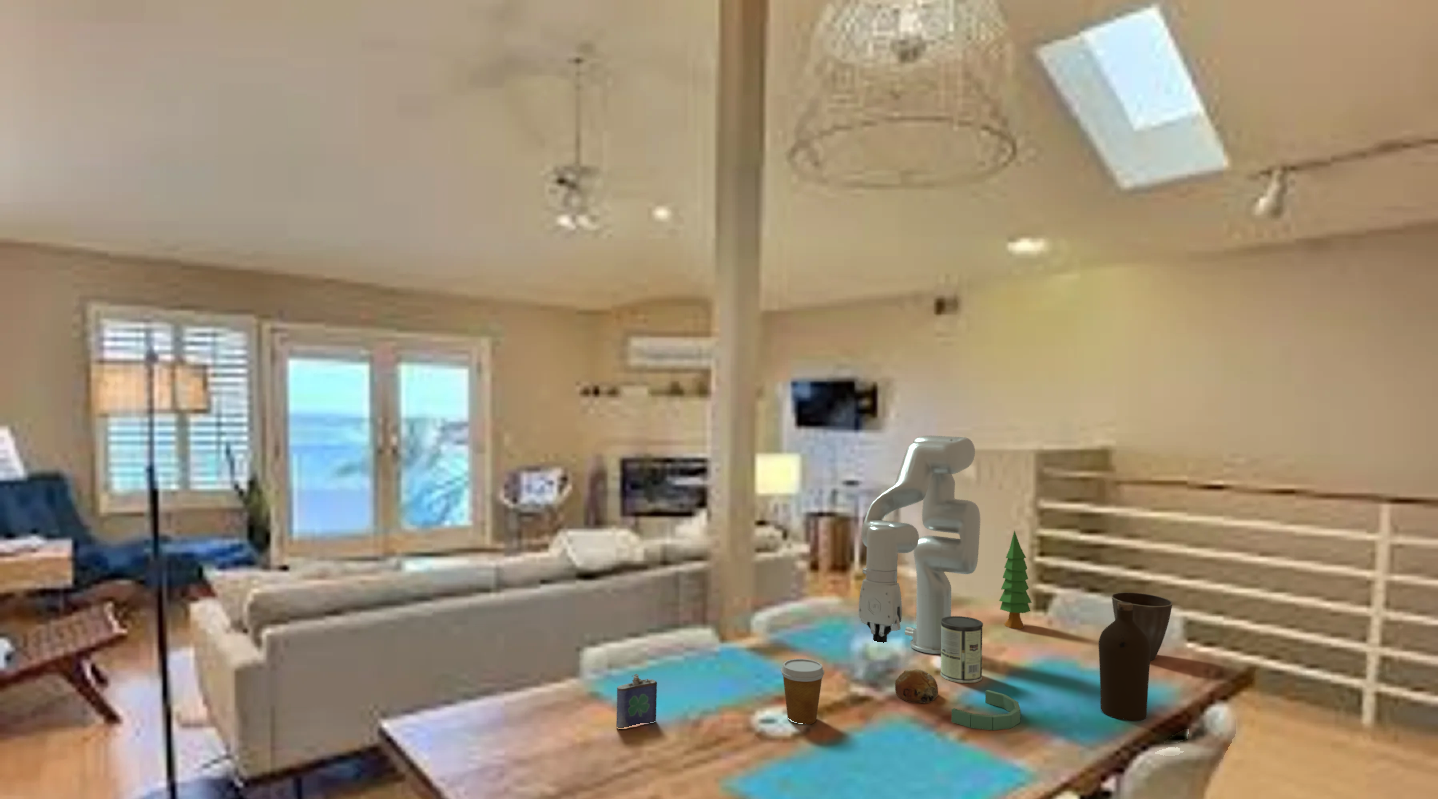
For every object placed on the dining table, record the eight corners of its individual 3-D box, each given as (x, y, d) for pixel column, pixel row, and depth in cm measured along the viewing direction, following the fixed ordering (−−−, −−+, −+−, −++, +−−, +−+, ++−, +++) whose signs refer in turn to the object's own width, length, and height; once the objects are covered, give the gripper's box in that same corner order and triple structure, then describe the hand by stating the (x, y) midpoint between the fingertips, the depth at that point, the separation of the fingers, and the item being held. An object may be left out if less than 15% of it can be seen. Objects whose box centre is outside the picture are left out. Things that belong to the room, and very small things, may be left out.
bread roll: (935, 707, 198) (933, 672, 202) (942, 703, 189) (940, 667, 192) (893, 705, 199) (892, 670, 203) (898, 701, 190) (897, 665, 193)
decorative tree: (1000, 628, 253) (1001, 531, 252) (995, 620, 262) (996, 526, 262) (1033, 630, 251) (1035, 532, 251) (1027, 622, 260) (1028, 527, 260)
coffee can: (951, 666, 217) (952, 613, 217) (989, 676, 210) (989, 621, 210) (932, 676, 209) (933, 621, 209) (970, 686, 202) (971, 629, 202)
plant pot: (1173, 654, 229) (1174, 597, 229) (1169, 669, 217) (1170, 608, 217) (1114, 645, 238) (1115, 589, 237) (1107, 658, 225) (1108, 600, 225)
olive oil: (1159, 722, 181) (1160, 609, 181) (1110, 722, 181) (1112, 609, 181) (1135, 704, 192) (1136, 597, 191) (1089, 703, 192) (1091, 597, 192)
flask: (619, 731, 173) (619, 680, 173) (613, 726, 176) (614, 676, 176) (658, 723, 178) (659, 673, 178) (652, 718, 180) (653, 669, 180)
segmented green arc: (951, 721, 180) (951, 709, 180) (987, 701, 192) (987, 689, 192) (997, 736, 173) (998, 723, 173) (1032, 714, 185) (1032, 702, 185)
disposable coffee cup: (827, 714, 184) (828, 660, 184) (818, 730, 175) (819, 674, 175) (786, 708, 187) (786, 656, 187) (775, 724, 178) (775, 669, 178)
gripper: (847, 573, 205) (845, 646, 205) (899, 582, 195) (897, 660, 194) (864, 569, 210) (862, 641, 210) (916, 578, 200) (914, 654, 200)
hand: (879, 650), depth 202 cm, fingers closed
